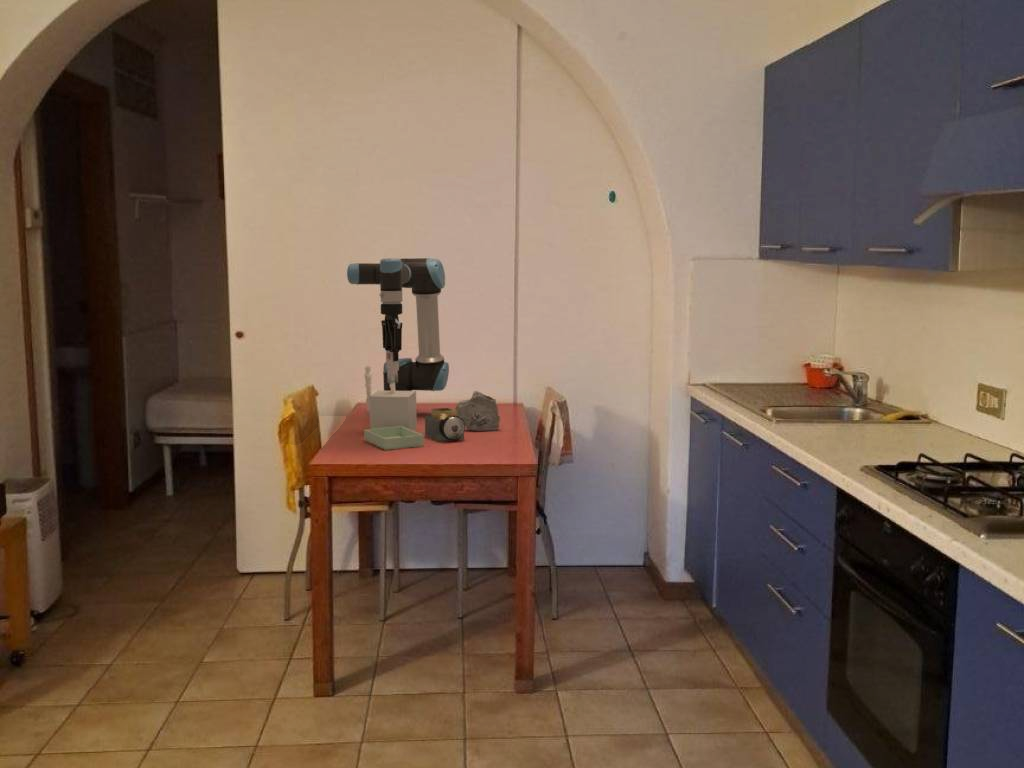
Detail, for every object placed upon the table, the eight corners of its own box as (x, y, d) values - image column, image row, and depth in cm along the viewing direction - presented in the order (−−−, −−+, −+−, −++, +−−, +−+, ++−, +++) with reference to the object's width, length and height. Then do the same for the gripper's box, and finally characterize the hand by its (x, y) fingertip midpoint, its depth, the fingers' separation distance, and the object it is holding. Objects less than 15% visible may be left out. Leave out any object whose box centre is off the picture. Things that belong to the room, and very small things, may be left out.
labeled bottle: (385, 382, 357) (385, 353, 355) (395, 381, 358) (394, 353, 357) (389, 383, 353) (389, 355, 352) (399, 382, 355) (399, 354, 354)
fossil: (454, 432, 380) (453, 393, 377) (454, 429, 386) (453, 390, 384) (500, 431, 380) (499, 392, 378) (499, 428, 387) (499, 389, 385)
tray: (364, 440, 364) (364, 429, 364) (401, 436, 371) (401, 425, 371) (385, 450, 347) (385, 439, 347) (423, 446, 354) (423, 435, 354)
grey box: (408, 436, 372) (407, 368, 369) (360, 435, 374) (359, 368, 371) (416, 428, 387) (415, 363, 383) (370, 427, 389) (369, 363, 385)
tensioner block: (425, 436, 372) (424, 408, 370) (449, 433, 377) (449, 406, 375) (442, 443, 359) (442, 414, 357) (467, 440, 364) (467, 412, 362)
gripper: (372, 302, 357) (373, 367, 361) (390, 304, 343) (391, 373, 346) (392, 301, 361) (393, 366, 364) (411, 304, 347) (411, 371, 350)
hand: (392, 369), depth 355 cm, fingers closed on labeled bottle, 4 cm apart
